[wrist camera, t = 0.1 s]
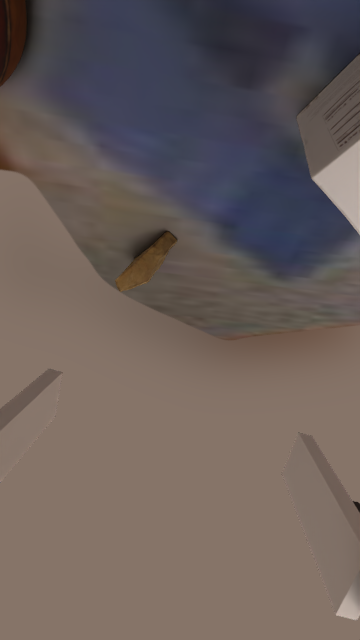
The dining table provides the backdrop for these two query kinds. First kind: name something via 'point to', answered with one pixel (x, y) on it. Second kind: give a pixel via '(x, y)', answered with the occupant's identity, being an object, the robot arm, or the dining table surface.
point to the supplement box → (336, 141)
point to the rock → (146, 264)
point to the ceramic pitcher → (11, 35)
